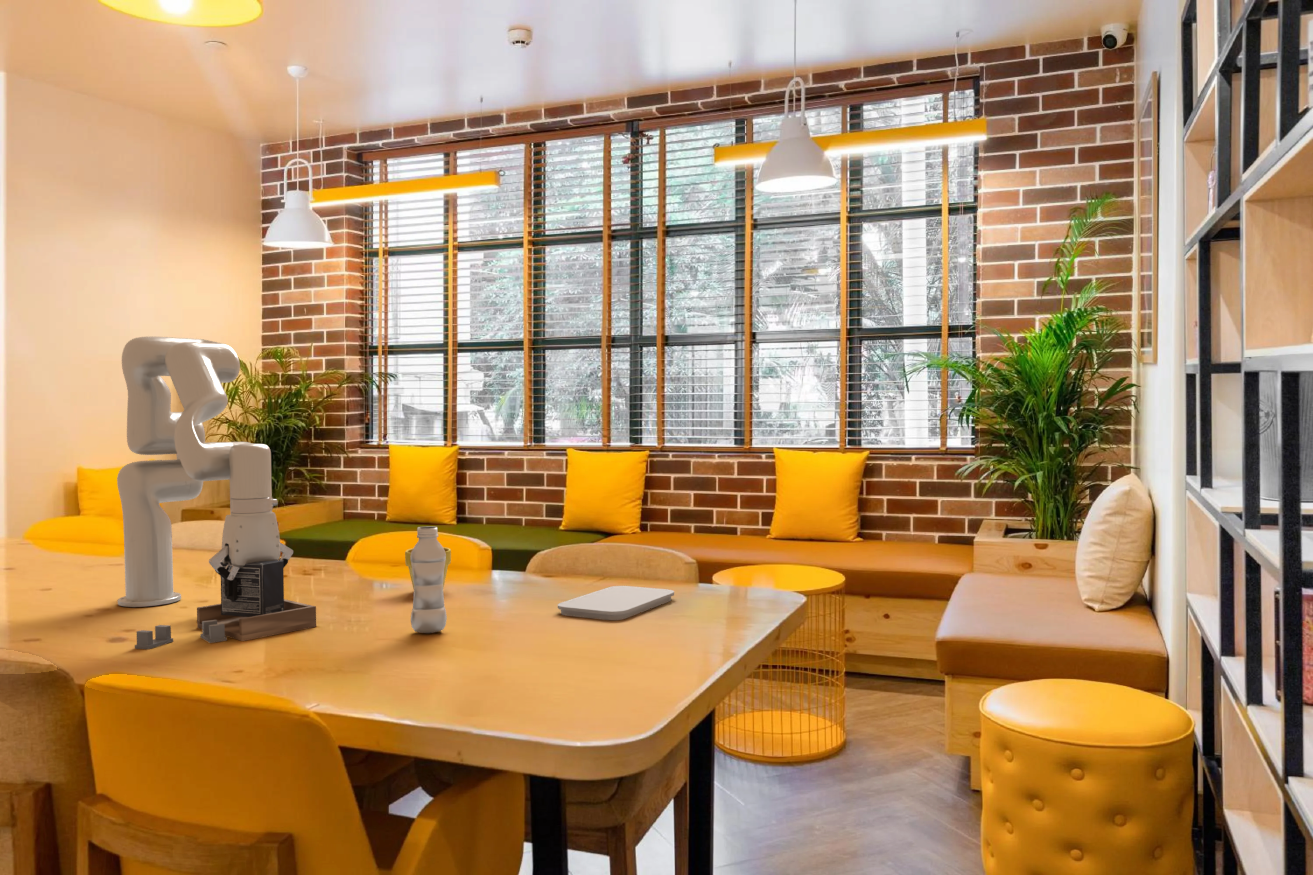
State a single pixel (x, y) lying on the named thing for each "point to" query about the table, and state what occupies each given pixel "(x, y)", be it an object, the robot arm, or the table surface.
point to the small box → (256, 590)
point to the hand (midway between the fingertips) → (253, 595)
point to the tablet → (615, 602)
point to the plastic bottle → (428, 582)
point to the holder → (261, 621)
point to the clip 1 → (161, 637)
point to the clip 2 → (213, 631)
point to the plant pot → (408, 563)
